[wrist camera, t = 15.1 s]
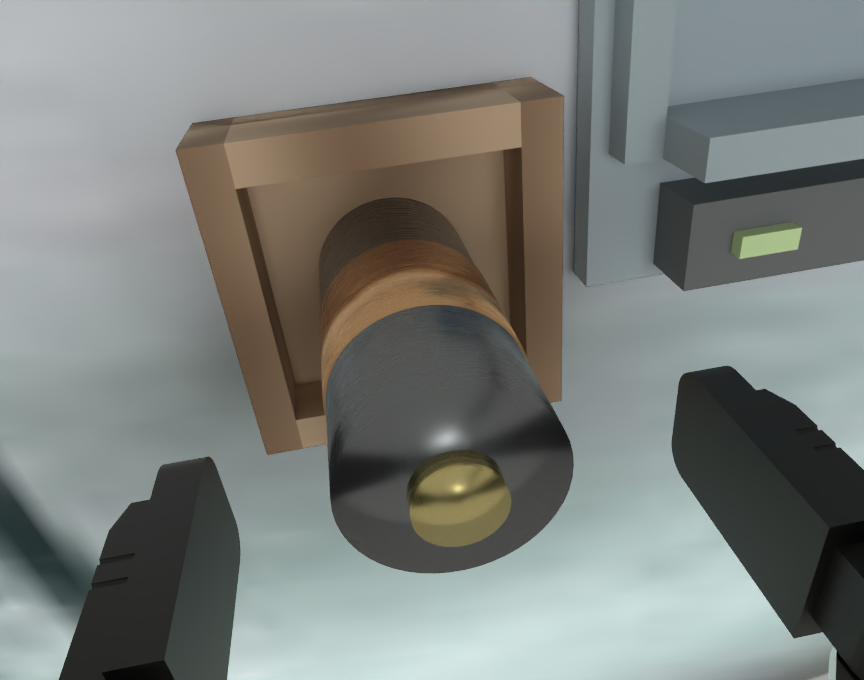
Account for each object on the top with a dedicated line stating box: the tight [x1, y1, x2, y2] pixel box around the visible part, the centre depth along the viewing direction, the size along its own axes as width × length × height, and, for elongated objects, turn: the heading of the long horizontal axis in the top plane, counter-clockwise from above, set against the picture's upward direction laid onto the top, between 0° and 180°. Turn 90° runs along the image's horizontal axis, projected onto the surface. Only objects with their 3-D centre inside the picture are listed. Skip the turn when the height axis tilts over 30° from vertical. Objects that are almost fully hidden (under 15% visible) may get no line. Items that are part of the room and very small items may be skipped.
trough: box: [176, 77, 564, 455], centre depth 18 cm, size 8×8×2 cm
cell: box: [319, 197, 574, 573], centre depth 14 cm, size 4×4×9 cm
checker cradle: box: [574, 0, 864, 291], centre depth 16 cm, size 11×12×4 cm
